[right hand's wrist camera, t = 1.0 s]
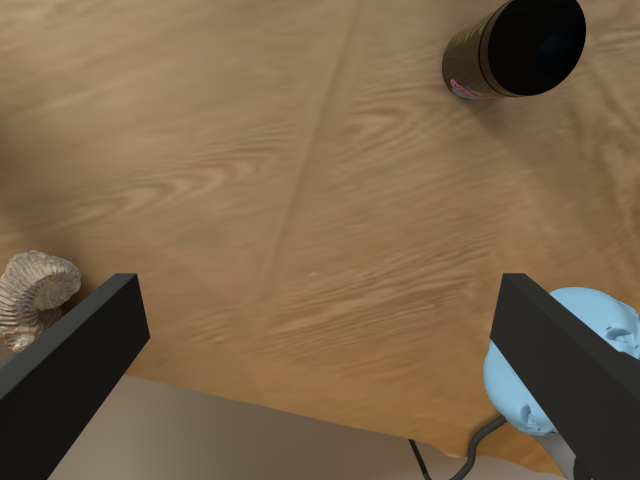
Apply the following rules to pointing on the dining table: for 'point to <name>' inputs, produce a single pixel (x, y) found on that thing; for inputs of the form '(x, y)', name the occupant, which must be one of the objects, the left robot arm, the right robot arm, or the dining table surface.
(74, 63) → the dining table surface
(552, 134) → the dining table surface
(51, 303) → the seashell
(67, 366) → the right robot arm
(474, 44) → the supplement container
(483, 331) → the dining table surface
